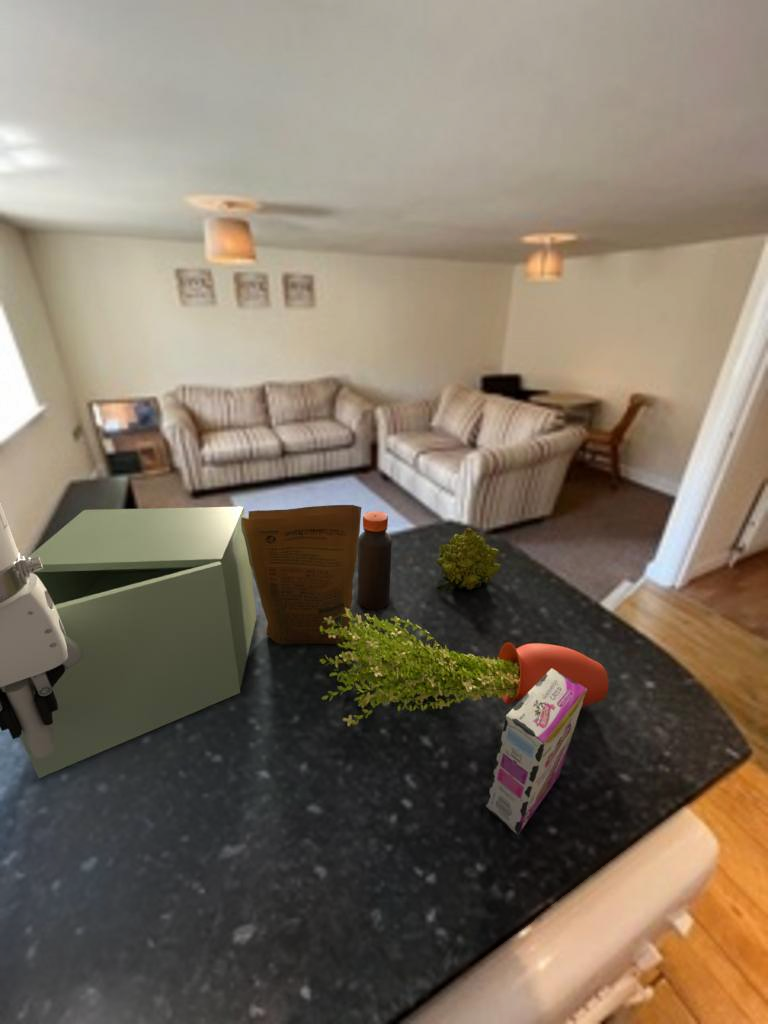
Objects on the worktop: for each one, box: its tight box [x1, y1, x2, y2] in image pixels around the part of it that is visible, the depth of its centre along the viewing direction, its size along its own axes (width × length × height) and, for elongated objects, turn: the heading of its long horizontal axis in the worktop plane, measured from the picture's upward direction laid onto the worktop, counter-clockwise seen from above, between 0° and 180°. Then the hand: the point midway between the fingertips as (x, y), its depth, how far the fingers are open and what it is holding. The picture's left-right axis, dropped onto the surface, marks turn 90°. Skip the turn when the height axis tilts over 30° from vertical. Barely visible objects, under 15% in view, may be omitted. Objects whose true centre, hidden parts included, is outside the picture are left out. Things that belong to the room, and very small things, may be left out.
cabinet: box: [27, 506, 257, 688], centre depth 74 cm, size 18×26×24 cm
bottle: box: [357, 510, 393, 610], centre depth 91 cm, size 7×7×20 cm
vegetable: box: [435, 527, 502, 592], centre depth 101 cm, size 15×16×15 cm
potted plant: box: [319, 607, 610, 727], centre depth 72 cm, size 19×14×45 cm
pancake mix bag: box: [241, 504, 362, 646], centre depth 78 cm, size 7×19×28 cm, turn 93°
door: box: [2, 561, 241, 779], centre depth 58 cm, size 8×26×24 cm, turn 124°
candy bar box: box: [485, 668, 587, 836], centre depth 55 cm, size 11×5×16 cm, turn 135°
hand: (32, 721), depth 49 cm, fingers closed on door, 2 cm apart
